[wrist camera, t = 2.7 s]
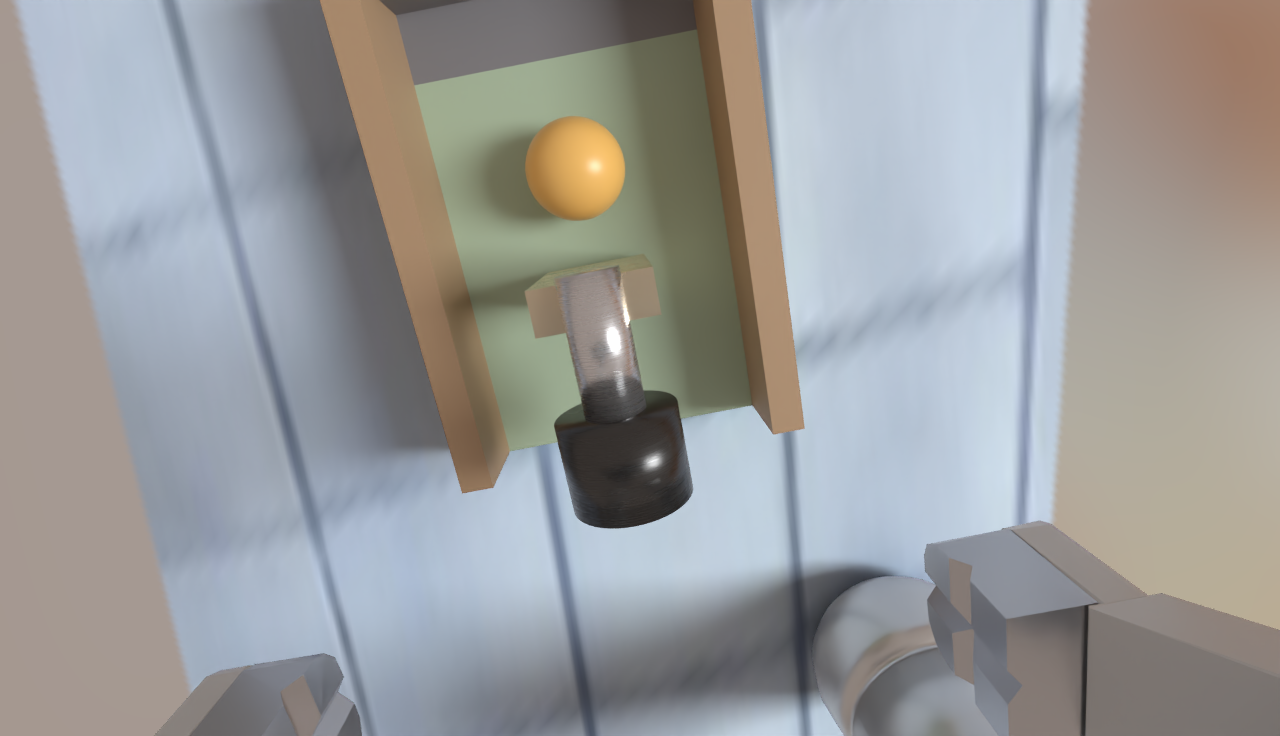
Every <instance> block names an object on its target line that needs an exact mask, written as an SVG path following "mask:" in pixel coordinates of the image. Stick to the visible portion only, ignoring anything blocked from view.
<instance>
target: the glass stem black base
mask: <svg viewBox="0 0 1280 736" xmlns="http://www.w3.org/2000/svg"><path fill="white" fill-rule="evenodd" d="M524 292H525V296H526V300H527V305H528V309H529V313H530V317H531V321H532V326H533V330H534V334H535V338H536V339H537V338H542V337H548V336H553V335H558V334H563V333H566V336H567V341H568V345H569V349H570V354H571V358H572V363H573V367H574V372H575V376H576V381H577V385H578V390H579V394H580V399H581V404H579V405H577V406H575V407H573V408H571V409H569V410H567V411H566V412H564V413H563V414H561V415H560V416H559V417H558V418H557V419H556V421H555V423H554V428H555V432H556V437H557V441H558V445H559V449H560V453H561V458H562V462H563V466H564V470H565V474H566V479H567V483H568V487H569V491H570V495H571V499H572V504H573V508H574V512H575V515H576V516H577V518H578V519H579V520H580V521H582V522H584V523H586V524H588V525H591V526H594V527H600V528H627V527H634V526H639V525H643V524H647V523H650V522H653V521H656V520H659V519H661V518H663V517H665V516H668V515H669V514H671V513H673V512H675V511H676V510H678V509H679V508H680V507H682V506H683V505H684V504H685V503H686V502H687V501H688V500H689V498H690V497H691V494H692V492H693V484H692V478H691V473H690V467H689V462H688V456H687V451H686V445H685V440H684V434H683V429H682V423H681V418H680V412H679V406H678V401H677V398H676V397H675V396H674V395H672V394H670V393H667V392H663V391H654V390H643V385H642V380H641V375H640V370H639V365H638V360H637V355H636V349H635V344H634V339H633V334H632V329H631V324H630V321H631V320H636V319H641V318H646V317H652V316H657V315H662V314H661V309H660V303H659V298H658V292H657V287H656V281H655V276H654V270H653V266H652V265H651V263H650V262H649V260H648V259H647V257H646V256H645V255H644V254H640V255H635V256H630V257H625V258H620V259H614V260H609V261H604V262H599V263H594V264H589V265H583V266H578V267H573V268H568V269H563V270H558V271H553V272H548V273H547V274H546V275H545V276H543V277H542V278H541V279H540V280H538V281H537V282H536V283H535V284H533V285H532V286H531V287H530V288H528V289H527V290H526V291H524Z"/></svg>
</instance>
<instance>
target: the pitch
mask: <svg viewBox="0 0 1280 736" xmlns="http://www.w3.org/2000/svg"><path fill="white" fill-rule="evenodd" d="M320 3H321V7H322V10H323V13H324V17H325V20H326V24H327V27H328V31H329V34H330V38H331V41H332V45H333V48H334V51H335V55H336V58H337V62H338V65H339V69H340V72H341V76H342V79H343V83H344V86H345V89H346V93H347V96H348V100H349V103H350V107H351V110H352V114H353V117H354V121H355V124H356V128H357V131H358V134H359V138H360V141H361V145H362V148H363V152H364V155H365V159H366V162H367V166H368V169H369V172H370V176H371V179H372V183H373V186H374V190H375V193H376V197H377V200H378V204H379V207H380V211H381V214H382V217H383V221H384V224H385V228H386V231H387V235H388V238H389V242H390V245H391V249H392V252H393V255H394V259H395V262H396V266H397V269H398V273H399V276H400V280H401V283H402V287H403V290H404V293H405V297H406V300H407V304H408V307H409V311H410V314H411V318H412V321H413V325H414V328H415V332H416V335H417V338H418V342H419V345H420V349H421V352H422V356H423V359H424V363H425V366H426V370H427V373H428V376H429V380H430V383H431V387H432V390H433V394H434V397H435V401H436V404H437V408H438V411H439V414H440V418H441V421H442V425H443V428H444V432H445V435H446V439H447V442H448V446H449V449H450V453H451V456H452V459H453V463H454V466H455V470H456V473H457V477H458V480H459V484H460V487H461V491H462V493H467V492H472V491H477V490H483V489H488V488H493V487H494V485H495V483H496V480H497V478H498V476H499V474H500V472H501V470H502V467H503V465H504V463H505V461H506V459H507V457H508V454H509V452H510V451H514V450H519V449H524V448H530V447H535V446H540V445H545V444H551V443H556V442H558V441H557V437H556V432H555V428H554V423H555V421H556V419H557V418H558V417H559V416H560V415H561V414H563V413H564V412H566V411H567V410H569V409H571V408H573V407H575V406H577V405H579V404H581V399H580V394H579V390H578V385H577V381H576V376H575V372H574V367H573V363H572V358H571V354H570V349H569V345H568V341H567V336H566V333H563V334H558V335H553V336H548V337H542V338H537V339H536V338H535V334H534V330H533V326H532V321H531V317H530V313H529V309H528V305H527V300H526V296H525V292H524V291H526V290H527V289H528V288H530V287H531V286H532V285H533V284H535V283H536V282H537V281H538V280H540V279H541V278H542V277H543V276H545V275H546V274H547V273H548V272H553V271H558V270H563V269H568V268H573V267H578V266H583V265H589V264H594V263H599V262H604V261H609V260H614V259H620V258H625V257H630V256H635V255H640V254H644V255H645V256H646V257H647V259H648V260H649V262H650V263H651V265H652V266H653V270H654V276H655V281H656V287H657V292H658V298H659V303H660V309H661V314H662V315H657V316H652V317H646V318H641V319H636V320H631V321H630V324H631V329H632V334H633V339H634V344H635V349H636V355H637V360H638V365H639V370H640V375H641V380H642V385H643V390H654V391H663V392H667V393H670V394H672V395H674V396H675V397H676V398H677V401H678V406H679V412H680V418H681V419H682V418H687V417H693V416H698V415H703V414H708V413H714V412H719V411H724V410H729V409H735V408H740V407H745V406H750V405H753V407H754V408H755V409H756V411H757V412H758V414H759V415H760V416H761V418H762V419H763V421H764V422H765V424H766V425H767V426H768V428H769V429H770V431H771V432H772V433H773V434H778V433H783V432H789V431H794V430H799V429H805V428H804V420H803V412H802V404H801V396H800V388H799V380H798V372H797V364H796V356H795V348H794V340H793V332H792V324H791V316H790V308H789V300H788V292H787V284H786V276H785V268H784V260H783V252H782V244H781V236H780V228H779V220H778V213H777V205H776V197H775V189H774V181H773V173H772V165H771V157H770V149H769V141H768V133H767V125H766V117H765V109H764V101H763V93H762V85H761V77H760V69H759V61H758V53H757V45H756V37H755V29H754V21H753V13H752V5H751V0H320ZM567 116H580V117H585V118H589V119H592V120H594V121H596V122H598V123H599V124H601V125H603V126H604V127H605V128H606V129H607V130H608V131H609V132H610V133H611V134H612V135H613V136H614V138H615V139H616V140H617V142H618V144H619V146H620V148H621V151H622V153H623V157H624V161H625V179H624V184H623V187H622V190H621V192H620V194H619V196H618V198H617V200H616V201H615V202H614V204H613V205H612V206H611V207H610V208H609V209H608V210H606V211H605V212H604V213H602V214H601V215H599V216H597V217H594V218H592V219H588V220H583V221H571V220H565V219H562V218H559V217H557V216H555V215H553V214H551V213H550V212H548V211H547V210H546V209H544V208H543V207H542V206H541V205H540V204H539V203H538V201H537V200H536V199H535V198H534V196H533V194H532V192H531V190H530V188H529V186H528V182H527V179H526V173H525V161H526V155H527V151H528V148H529V145H530V143H531V142H532V140H533V138H534V137H535V135H536V134H537V133H538V132H539V131H540V130H541V129H542V128H543V127H544V126H545V125H547V124H548V123H550V122H551V121H554V120H556V119H558V118H562V117H567Z"/></svg>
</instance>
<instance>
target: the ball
mask: <svg viewBox="0 0 1280 736" xmlns="http://www.w3.org/2000/svg"><path fill="white" fill-rule="evenodd" d="M525 173H526V179H527V182H528V186H529V188H530V190H531V192H532V194H533V196H534V198H535V199H536V200H537V201H538V203H539V204H540V205H541V206H542V207H543V208H544V209H546V210H547V211H548V212H550V213H551V214H553V215H555V216H557V217H559V218H562V219H565V220H571V221H583V220H588V219H592V218H594V217H597V216H599V215H601V214H602V213H604V212H605V211H606V210H608V209H609V208H610V207H611V206H612V205H613V204H614V202H615V201H616V200H617V198H618V196H619V194H620V192H621V190H622V187H623V184H624V179H625V161H624V157H623V153H622V151H621V148H620V146H619V144H618V142H617V140H616V139H615V138H614V136H613V135H612V134H611V133H610V132H609V131H608V130H607V129H606V128H605V127H604V126H603V125H601V124H599V123H598V122H596V121H594V120H592V119H589V118H585V117H580V116H567V117H562V118H558V119H556V120H554V121H551V122H550V123H548V124H547V125H545V126H544V127H543V128H542V129H541V130H540V131H539V132H538V133H537V134H536V135H535V137H534V138H533V140H532V142H531V143H530V145H529V148H528V151H527V155H526V161H525Z"/></svg>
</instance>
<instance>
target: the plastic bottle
mask: <svg viewBox="0 0 1280 736" xmlns="http://www.w3.org/2000/svg"><path fill="white" fill-rule="evenodd" d="M935 586H936V585H935V584H933V583H930V582H928V581H925V580H923V579H917V578H912V577H903V576H883V577H877V578H871V579H868V580H866V581H863V582H860V583H858V584H856V585H854V586H852V587H850V588H849V589H847V590H846V591H844V592H843V593H842V594H841V595H839V596H838V597H837V598H836V599H835V600H834V601H833V602H832V603H831V604H830V606H829V607H828V608H827V610H826V612H825V613H824V615H823V616H822V619H821V621H820V623H819V625H818V628H817V631H816V633H815V636H814V640H813V646H812V658H813V666H814V670H815V675H816V680H817V684H818V689H819V692H820V695H821V698H822V701H823V703H824V704H825V706H826V708H827V709H828V711H829V712H830V714H831V716H832V717H833V719H834V720H835V722H836V724H837V725H838V727H839V728H840V730H841V732H842V733H843V735H844V736H998V735H997V733H996V732H995V731H994V729H993V728H992V726H991V725H990V724H989V722H988V721H987V719H986V718H985V717H984V715H983V714H982V712H981V711H980V710H979V708H978V707H977V706H976V704H975V691H974V685H973V684H971V683H969V682H967V681H965V680H964V679H962V678H960V677H958V676H956V675H955V674H954V673H953V672H952V670H951V669H950V667H949V666H948V664H947V663H946V661H945V660H944V658H943V656H942V654H941V652H940V650H939V648H938V646H937V644H936V642H935V639H934V636H933V632H932V629H931V626H930V623H929V616H928V606H927V599H928V597H929V596H930V594H931V593H932V591H933V589H934V588H935Z"/></svg>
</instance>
